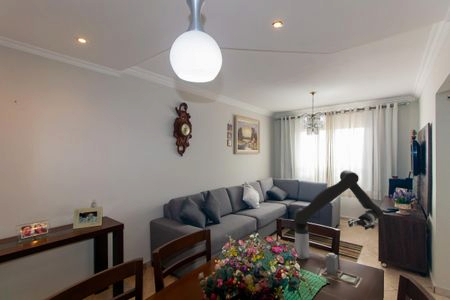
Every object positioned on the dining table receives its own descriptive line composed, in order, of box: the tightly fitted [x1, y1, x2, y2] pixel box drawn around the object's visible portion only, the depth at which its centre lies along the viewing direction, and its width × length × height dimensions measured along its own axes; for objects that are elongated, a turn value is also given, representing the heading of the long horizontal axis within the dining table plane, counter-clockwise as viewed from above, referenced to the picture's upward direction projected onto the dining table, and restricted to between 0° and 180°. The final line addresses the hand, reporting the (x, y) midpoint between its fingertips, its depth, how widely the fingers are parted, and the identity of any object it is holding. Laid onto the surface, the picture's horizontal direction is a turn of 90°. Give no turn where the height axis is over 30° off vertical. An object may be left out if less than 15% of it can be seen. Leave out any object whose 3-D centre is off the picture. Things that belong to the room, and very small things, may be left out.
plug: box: [325, 252, 339, 276], centre depth 138 cm, size 5×5×12 cm
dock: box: [318, 267, 363, 288], centre depth 135 cm, size 20×12×2 cm, turn 47°
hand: (357, 226), depth 140 cm, fingers open, 8 cm apart
